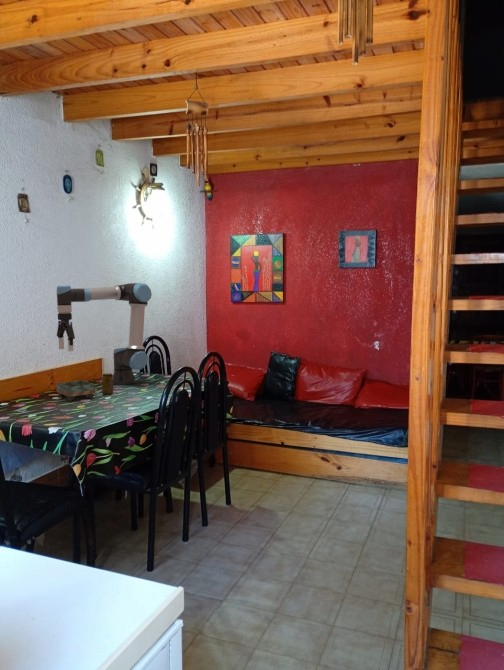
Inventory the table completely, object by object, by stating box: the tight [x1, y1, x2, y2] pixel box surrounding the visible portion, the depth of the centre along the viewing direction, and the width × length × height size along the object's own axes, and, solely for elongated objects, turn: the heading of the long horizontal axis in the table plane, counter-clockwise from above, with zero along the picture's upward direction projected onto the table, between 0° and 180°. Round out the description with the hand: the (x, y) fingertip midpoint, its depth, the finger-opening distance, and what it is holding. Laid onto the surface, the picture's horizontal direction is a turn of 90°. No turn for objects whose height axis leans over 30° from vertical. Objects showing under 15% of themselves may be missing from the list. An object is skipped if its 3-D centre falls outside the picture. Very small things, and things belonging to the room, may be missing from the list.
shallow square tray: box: [56, 379, 96, 402], centre depth 298 cm, size 15×17×8 cm
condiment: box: [100, 372, 118, 397], centre depth 307 cm, size 7×8×12 cm
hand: (66, 350), depth 301 cm, fingers open, 13 cm apart
